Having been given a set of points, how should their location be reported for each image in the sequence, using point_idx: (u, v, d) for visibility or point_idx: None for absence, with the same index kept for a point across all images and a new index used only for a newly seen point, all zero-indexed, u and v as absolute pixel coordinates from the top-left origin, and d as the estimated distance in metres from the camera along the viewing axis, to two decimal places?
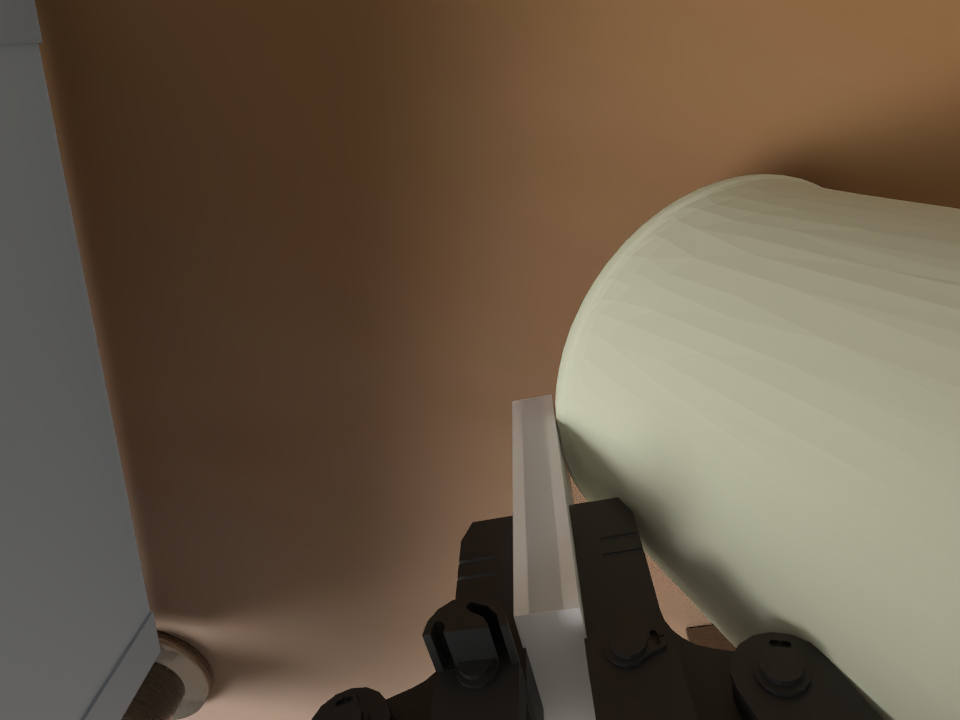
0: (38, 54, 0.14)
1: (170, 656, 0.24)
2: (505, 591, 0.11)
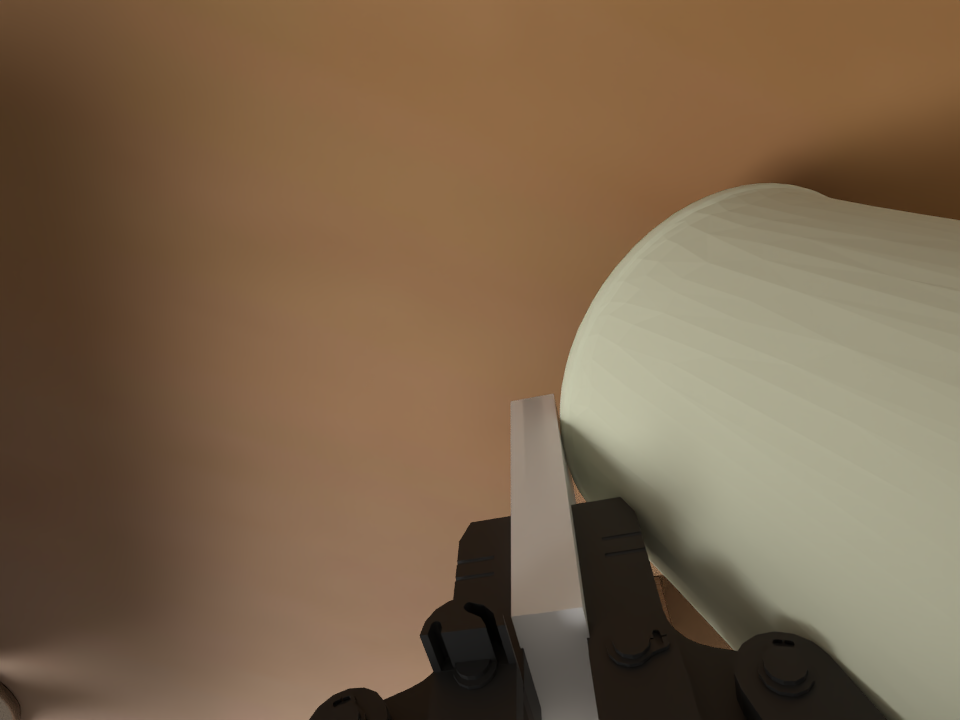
0: None
1: None
2: (503, 591, 0.11)
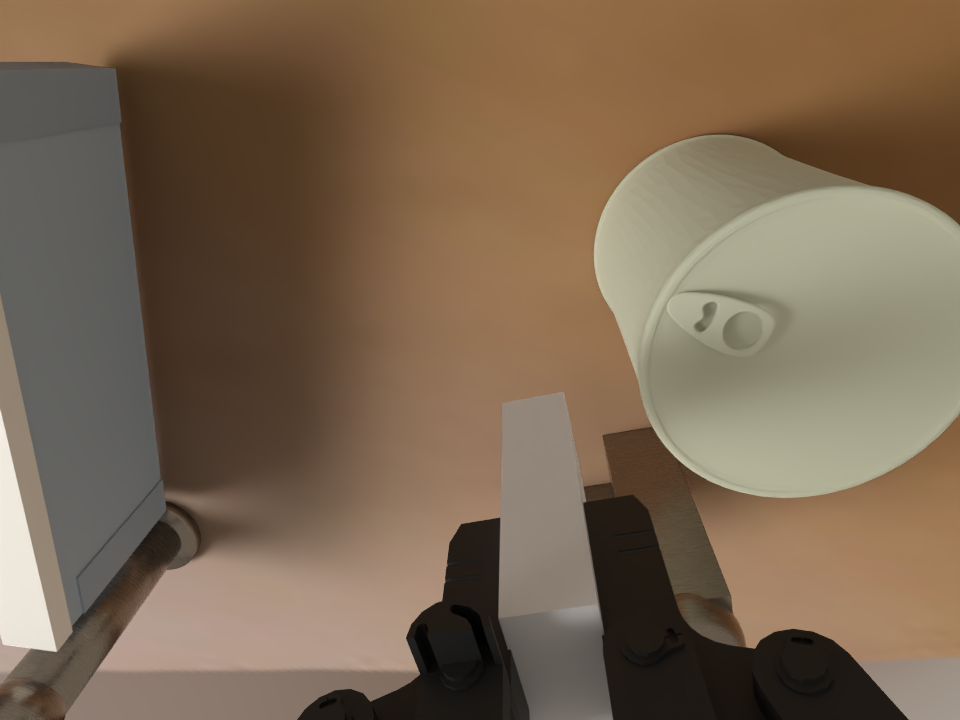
0: (119, 128, 0.26)
1: (172, 517, 0.35)
2: (492, 593, 0.11)
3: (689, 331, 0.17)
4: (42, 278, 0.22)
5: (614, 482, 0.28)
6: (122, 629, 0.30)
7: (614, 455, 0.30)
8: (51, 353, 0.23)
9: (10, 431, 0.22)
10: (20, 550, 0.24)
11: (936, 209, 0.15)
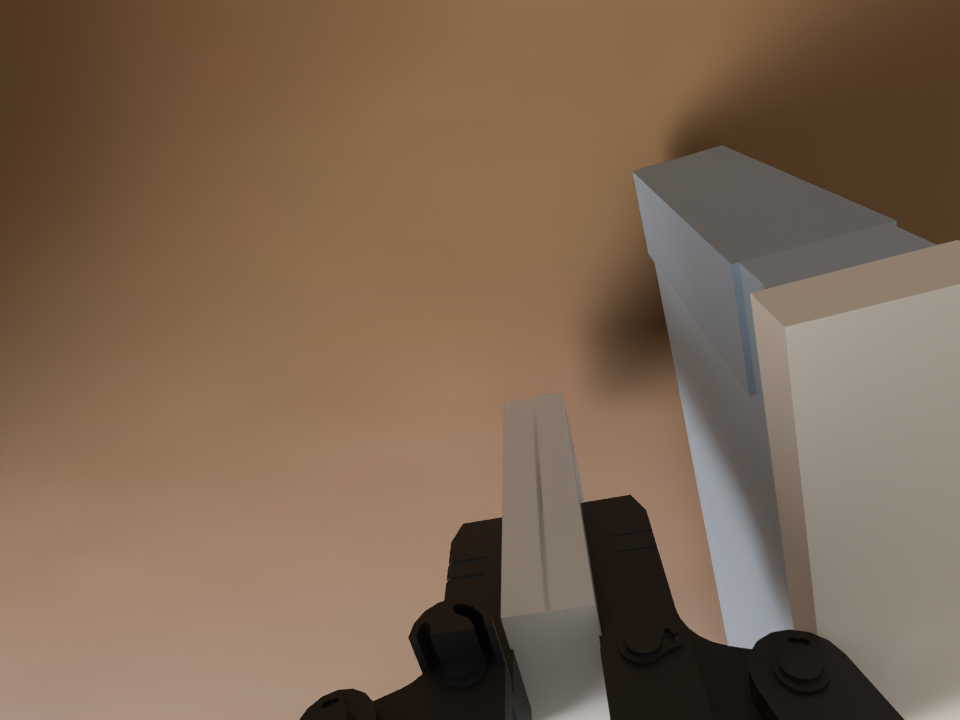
0: None
1: None
2: (494, 592, 0.11)
3: None
4: None
5: None
6: None
7: None
8: None
9: None
10: None
11: None
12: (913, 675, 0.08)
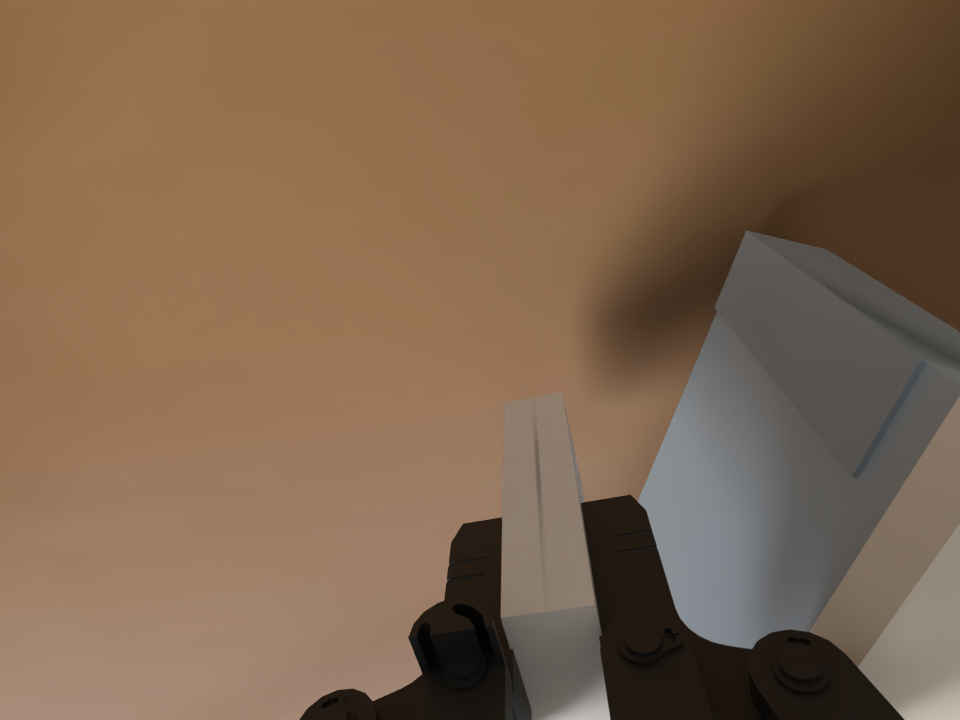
0: None
1: None
2: (494, 592, 0.11)
3: None
4: None
5: None
6: None
7: None
8: None
9: None
10: None
11: None
12: None
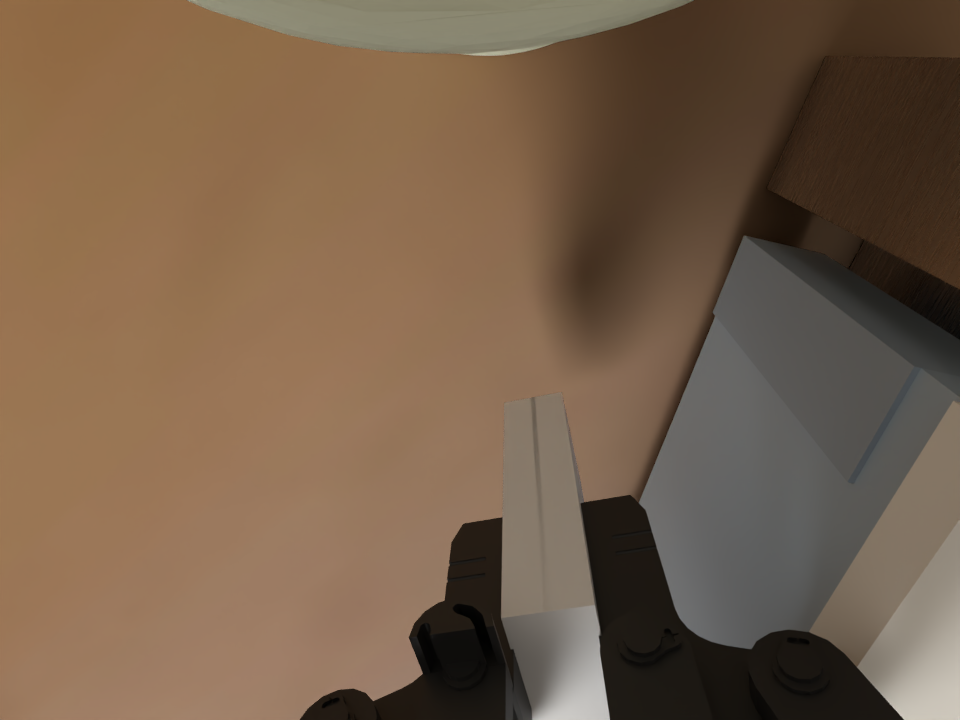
0: None
1: None
2: (494, 592, 0.11)
3: None
4: None
5: (844, 224, 0.12)
6: None
7: (804, 189, 0.14)
8: None
9: None
10: None
11: None
12: None
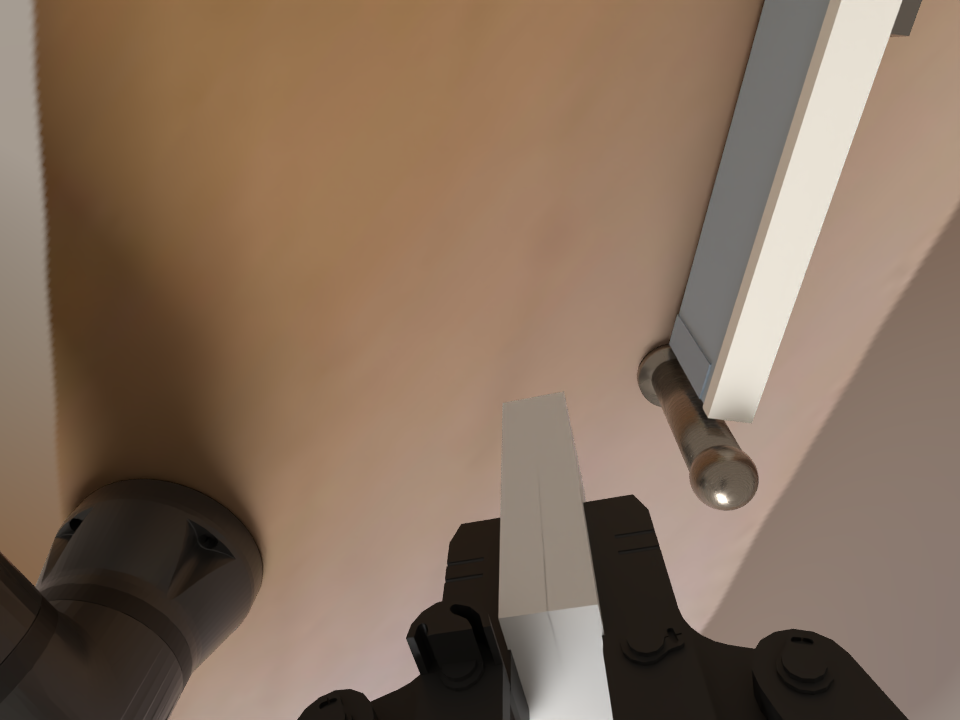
0: None
1: (660, 354, 0.41)
2: (492, 593, 0.11)
3: None
4: None
5: None
6: None
7: None
8: None
9: None
10: (775, 325, 0.29)
11: None
12: (849, 68, 0.25)
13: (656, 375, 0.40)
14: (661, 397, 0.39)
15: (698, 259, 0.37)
